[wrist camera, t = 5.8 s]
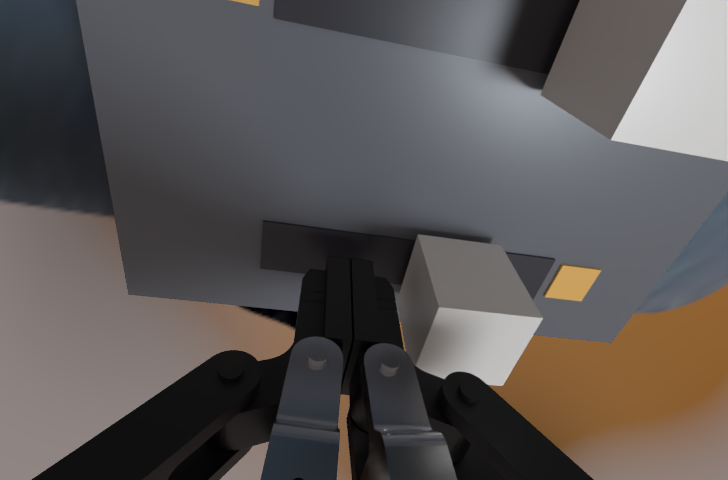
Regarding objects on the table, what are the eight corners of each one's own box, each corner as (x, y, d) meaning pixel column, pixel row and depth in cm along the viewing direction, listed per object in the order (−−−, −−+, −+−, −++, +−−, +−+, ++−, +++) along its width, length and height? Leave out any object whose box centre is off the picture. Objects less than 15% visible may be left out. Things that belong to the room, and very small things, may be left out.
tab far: (397, 299, 15) (410, 378, 12) (417, 234, 14) (439, 306, 11) (472, 308, 16) (502, 385, 13) (501, 245, 14) (542, 318, 11)
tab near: (540, 95, 11) (610, 140, 8) (594, -35, 9) (705, -35, 7) (636, 113, 12) (734, 162, 9) (703, -7, 10) (854, 4, 7)
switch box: (166, 234, 18) (127, 296, 15) (123, -207, 11) (21, -287, 7) (568, 283, 21) (612, 344, 18) (763, -35, 13) (905, -34, 10)
